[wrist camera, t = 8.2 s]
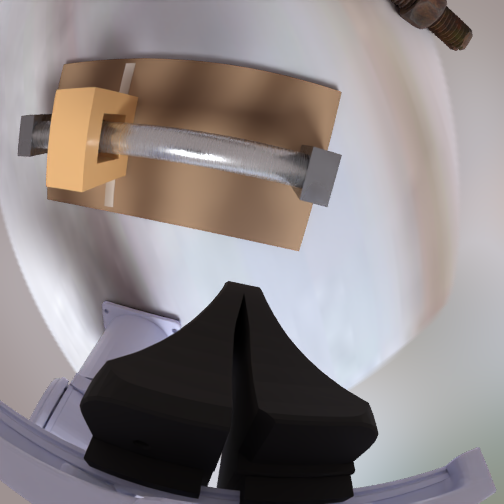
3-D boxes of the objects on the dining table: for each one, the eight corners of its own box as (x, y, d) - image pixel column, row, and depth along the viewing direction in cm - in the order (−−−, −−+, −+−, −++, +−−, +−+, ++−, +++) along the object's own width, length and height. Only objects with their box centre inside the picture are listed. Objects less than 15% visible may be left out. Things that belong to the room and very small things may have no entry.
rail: (322, 150, 18) (342, 155, 13) (311, 190, 19) (327, 207, 15) (59, 114, 17) (20, 115, 12) (55, 148, 18) (16, 156, 13)
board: (339, 93, 16) (341, 91, 16) (297, 248, 21) (298, 251, 20) (67, 65, 15) (63, 64, 14) (51, 197, 20) (46, 199, 19)
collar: (138, 97, 16) (95, 87, 11) (125, 175, 18) (82, 192, 13) (103, 96, 16) (56, 89, 10) (93, 171, 18) (46, 186, 13)
